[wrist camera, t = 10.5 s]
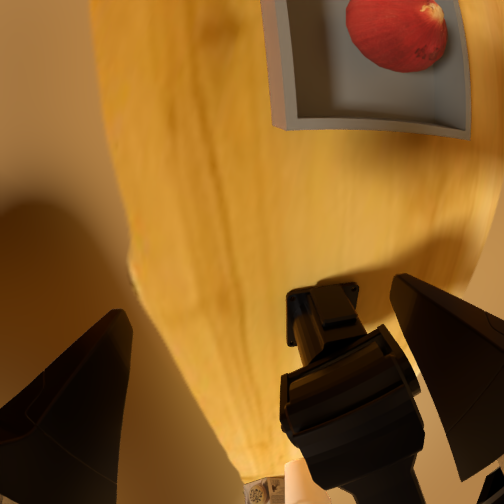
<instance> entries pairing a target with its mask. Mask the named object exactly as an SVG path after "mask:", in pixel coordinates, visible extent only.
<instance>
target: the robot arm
mask: <svg viewBox="0 0 504 504" xmlns="http://www.w3.org/2000/svg"><path fill="white" fill-rule="evenodd" d="M353 287H354V288H353ZM352 288H353V289H352ZM358 292H359V286H358V285H357V283H356V282H351V283H345V284H338V285H332V286H325V287H318V288H312V289H305V290H298V291H291V292H289V293H287V295H286V341H287V345H288V346H289V347H294V346H298V350H299V354H300V357H301V361H302V364H303V367H302V368H300V369H298V370H296V371H293V372H291V373H289V374H288V373H286V374H284V375H281V385H280V422H281V429H282V431H283V432H284V433H286V434H287V436H288V438H289V440H290V441H291V443H292V444H293V445H294V446H296V447H297V448H299V449H300V451H301V453H302V455H303V457H304V459H305V461H306V464H307V466H308V469H309V472H310V475H311V477H312V480H313V481H314V483H316V484H317V485H318V486H319V487H321V488H322V489H323V490H329V489H332V488H335V487H338V488H340V489H342V490H344V491H346V492H348V493H350V494H352V495H353V497H354V499H355V501H356V504H426V502H425V499H424V496H423V493H422V490H421V487H420V485H419V482H418V479H417V477H416V474H415V471H414V469H413V467H414V464H415V460H416V456H417V453H418V452H419V451H421V450H422V449H423V445H424V437H425V432H424V430H423V428H424V423H423V420H422V417H421V415H420V413H419V410H418V407H417V405H416V402H415V400H414V398H413V397H414V396H416V395H417V394H419V393H420V392H421V389H420V386H419V382H418V380H417V377H416V375H415V373H414V370H413V368H412V366H411V364H410V362H409V361H408V359H407V357H406V355H405V354H404V352H403V351H402V349H401V348H400V346H399V345H398V343H397V342H396V341H395V339H394V338H393V336H392V335H391V334H390V332H389V331H388V329H387V328H386V327H385V325H384V324H382V325H380V326H378V327H377V329H376V330H374V331H372V332H370V333H369V334H367V332H366V330H365V328H364V327H363V325H362V323H361V321H360V319H359V317H358V314H357V313H356V311H355V310H356V304H357V298H358ZM291 297H294V298H291ZM390 301H391V304H392V306H393V309H394V311H395V314H396V317H397V319H398V322H399V324H400V327H401V330H402V332H403V335H404V337H405V339H406V341H407V343H408V346H409V348H410V350H411V352H412V354H413V356H414V358H415V360H416V362H417V365H418V367H419V369H420V371H421V373H422V376H423V378H424V380H425V383H426V385H427V387H428V390H429V392H430V394H431V397H432V399H433V401H434V404H435V407H436V409H437V412H438V414H439V417H440V419H441V422H442V425H443V427H444V430H445V433H446V436H447V439H448V442H449V445H450V448H451V451H452V454H453V457H454V460H455V463H456V467H457V470H458V474H459V477H460V480H461V482H463V481H465V480H467V479H468V478H470V477H471V476H473V475H475V474H476V473H478V472H479V471H481V470H482V469H484V468H485V467H487V466H488V465H490V464H491V463H493V462H494V461H495V460H497V461H498V463H499V465H500V466H499V467H498V468H497V469H495V470H494V471H493V472H491V473H490V474H489V475H487V476H486V479H485V482H484V485H483V488H482V491H481V493H480V496H479V499H478V501H477V504H504V320H502V319H500V318H498V317H496V316H494V315H492V314H490V313H488V312H485V311H484V310H482V309H480V308H478V307H476V306H474V305H472V304H470V303H468V302H466V301H464V300H462V299H460V298H458V297H456V296H454V295H452V294H449V293H447V292H445V291H443V290H441V289H439V288H437V287H435V286H433V285H431V284H428V283H426V282H424V281H422V280H420V279H418V278H415V277H413V276H411V275H409V274H407V273H401V274H396V275H395V276H394V277H393V281H392V286H391V290H390ZM132 339H133V329H132V326H131V324H130V321H129V319H128V317H127V314H126V312H125V311H124V310H123V309H112V310H110V311H109V312H108V313H107V314H106V315H105V316H104V317H102V318H101V319H100V320H99V321H98V322H97V323H95V324H94V325H93V326H92V327H91V328H90V329H89V330H87V332H85V333H84V334H83V335H82V336H81V337H80V338H78V339H77V341H75V342H74V343H73V344H72V345H71V346H70V347H69V348H67V349H66V350H65V351H64V352H63V353H62V354H61V355H60V356H59V357H58V358H56V359H55V360H54V361H53V362H52V363H51V364H50V365H49V366H48V367H47V368H46V369H45V370H44V371H43V372H42V373H40V374H39V375H38V376H37V377H36V378H35V379H34V380H33V381H32V382H31V383H30V384H29V385H28V386H26V387H25V388H24V389H23V390H22V391H21V392H20V393H19V394H17V395H16V396H15V397H14V398H12V399H11V400H10V401H9V402H8V403H6V404H5V405H4V406H3V407H2V408H0V504H116V499H117V484H116V483H117V473H118V461H119V449H120V439H121V430H122V422H123V414H124V407H125V400H126V393H127V387H128V381H129V375H130V366H131V351H132Z"/></svg>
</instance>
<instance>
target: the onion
mask: <svg viewBox="0 0 504 504" xmlns="http://www.w3.org/2000/svg"><path fill="white" fill-rule="evenodd" d="M346 27H347V29H348V32H349V35H350V37H351V40H352V42H353V44H354V45H355V46H356V47H357V48H358V49H359V51H360V52H361V53H362V54H363V55H364V56H365V57H366V58H367V59H369V60H370V61H372V62H373V63H375V64H376V65H378V66H379V67H382V68H385V69H388V70H391V71H394V72H400V73H408V72H418V71H422V70H426V69H427V68H428V67H430V66H431V65H432V64H433V63H435V62H436V61H437V60H438V59H440V58H441V57H442V55H443V53H444V51H445V47H446V43H447V40H448V31H447V26H446V22H445V19H444V13H443V10H442V8H441V7H440V5H438V4H437V3H436V2H435V0H350V1H349V3H348V5H347V7H346Z"/></svg>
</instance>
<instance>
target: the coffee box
mask: <svg viewBox="0 0 504 504" xmlns="http://www.w3.org/2000/svg"><path fill="white" fill-rule="evenodd" d="M244 494H245V503H246V504H285V482H284V479H283V478H271V477H266V478H263V479H260V480H257V481H254V482H251V483H248V484H245V485H244Z"/></svg>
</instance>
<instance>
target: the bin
mask: <svg viewBox="0 0 504 504" xmlns="http://www.w3.org/2000/svg"><path fill="white" fill-rule="evenodd" d="M260 1H261V9H262V18H263V27H264V37H265V46H266V56H267V67H268V78H269V89H270V101H271V113H272V125H273V126H276V127H278V128H281V129H284V130H286V131H289V130H319V129H348V130H378V131H395V132H407V133H418V134H427V135H436V136H444V137H451V138H457V139H464V140H470V137H471V87H470V71H469V61H468V52H467V45H466V38H465V32H464V26H463V21H462V16H461V11H460V7H459V3H458V0H435V2H436V3H437V4H438V5H440V7H441V8H442V10H443V13H444V19H445V22H446V26H447V31H448V40H447V43H446V47H445V51H444V53H443V55H442V57H441V58H440V59H438V60H437V61H436V62H435V63H433V64H432V65H431V66H430V67H428V68H427V69H426V70H422V71H418V72H408V73H400V72H394V71H391V70H388V69H385V68H382V67H379V66H378V65H376V64H375V63H373V62H372V61H370V60H369V59H367V58H366V57H365V56H364V55H363V54H362V53H361V52H360V51H359V49H358V48H357V47H356V46H355V45H354V44H353V42H352V40H351V37H350V35H349V32H348V29H347V27H346V7H347V5H348V3H349V1H350V0H260Z"/></svg>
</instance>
